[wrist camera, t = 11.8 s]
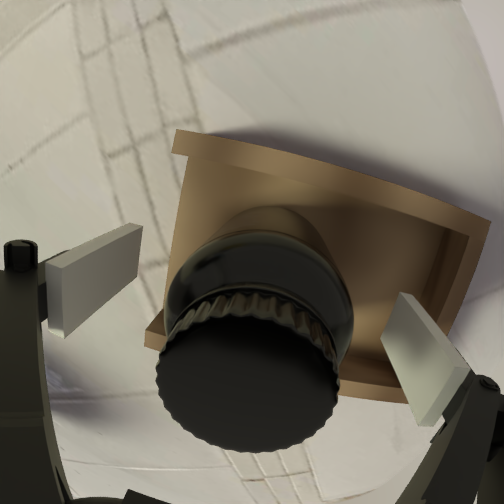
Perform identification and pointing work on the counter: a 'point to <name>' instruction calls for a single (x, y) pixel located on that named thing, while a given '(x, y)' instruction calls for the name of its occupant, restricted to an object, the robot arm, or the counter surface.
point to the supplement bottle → (255, 334)
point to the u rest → (335, 240)
